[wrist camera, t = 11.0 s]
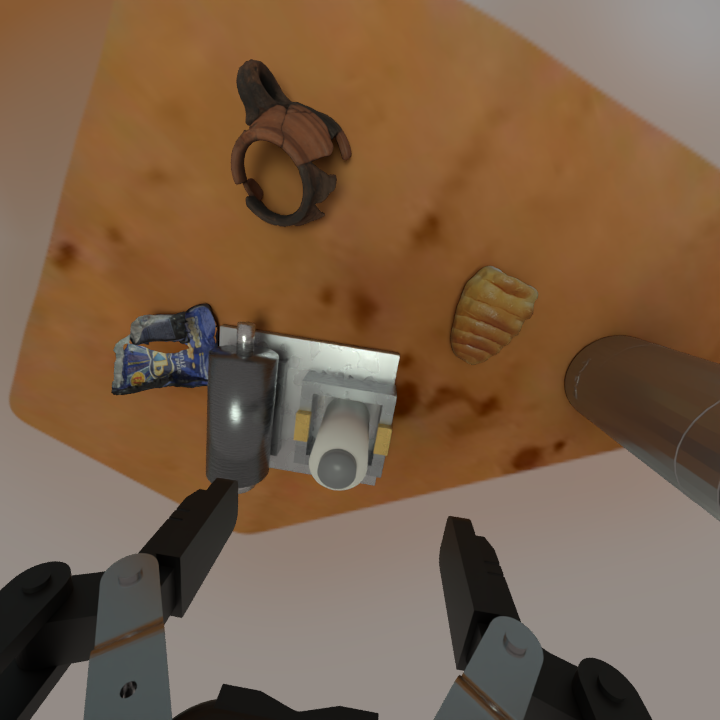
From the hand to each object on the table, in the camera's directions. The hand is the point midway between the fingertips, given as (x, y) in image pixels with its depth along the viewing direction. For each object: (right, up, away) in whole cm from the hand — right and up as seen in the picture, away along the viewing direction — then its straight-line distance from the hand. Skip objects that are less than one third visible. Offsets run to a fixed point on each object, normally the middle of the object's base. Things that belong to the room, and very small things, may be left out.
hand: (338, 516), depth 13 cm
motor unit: (-6, +1, +26) cm, 26 cm away
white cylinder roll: (-1, 0, +25) cm, 25 cm away
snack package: (-19, +8, +25) cm, 33 cm away
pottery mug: (-5, +25, +19) cm, 32 cm away
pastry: (+14, +11, +22) cm, 28 cm away
